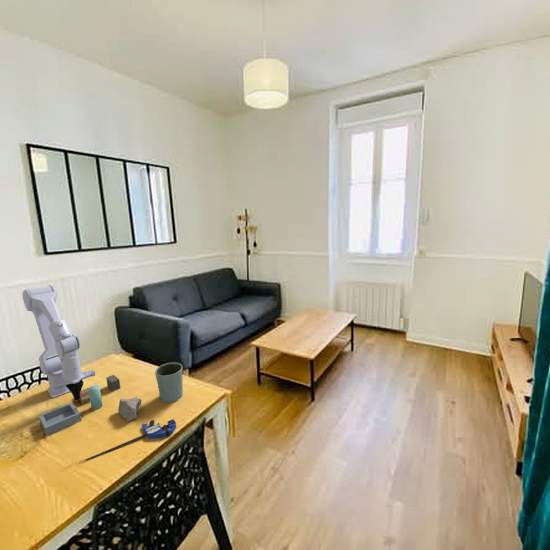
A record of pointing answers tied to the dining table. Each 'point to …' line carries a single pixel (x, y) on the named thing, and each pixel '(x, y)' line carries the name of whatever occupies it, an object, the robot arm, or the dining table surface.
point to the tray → (59, 418)
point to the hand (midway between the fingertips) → (77, 399)
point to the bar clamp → (147, 434)
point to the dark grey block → (113, 382)
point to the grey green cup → (169, 382)
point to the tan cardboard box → (84, 396)
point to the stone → (129, 408)
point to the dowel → (95, 397)
